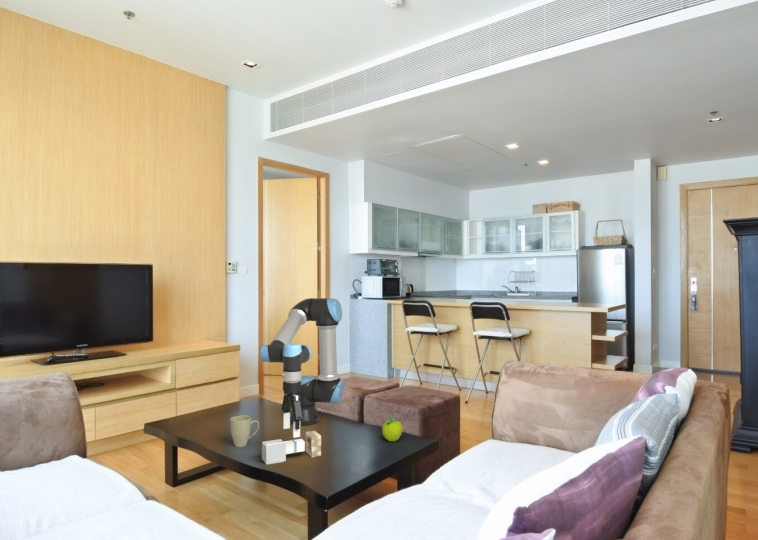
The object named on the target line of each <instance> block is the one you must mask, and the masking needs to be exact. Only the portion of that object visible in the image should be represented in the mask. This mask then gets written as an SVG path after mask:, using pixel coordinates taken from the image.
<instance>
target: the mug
mask: <svg viewBox="0 0 758 540" xmlns="http://www.w3.org/2000/svg"><path fill="white" fill-rule="evenodd" d="M229 420H230V421H229V422H230V432H231V437H232V441H233V443H234V447H237V448H243V447H245V446H247V444H248V441H249V439H251V438H252V437H253V436H255V435H256V434H257V432H258V430H259V429H260V422H259V421H258V420H256V419H253V420H252V417H251V416H250V415H245V414H244V415H236V416H235V415H234V416H232V417H230V419H229ZM254 423H257V427H256V430H255V431H254V432H253V433H252V434H251V429H252V428H251V426H252V425H253V424H254ZM250 434H251V435H250Z"/></svg>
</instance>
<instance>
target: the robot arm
mask: <svg viewBox="0 0 758 540" xmlns="http://www.w3.org/2000/svg"><path fill="white" fill-rule="evenodd" d="M287 314H288V315H287V318H286V320H285V322H284V323H283V324H282V326H281V328H280V329H279V331H278V332H277V333H276V335H275V336H274V338H273V339H272V341H271V342H270V344H264V345H263V344H262V345H261V346H260V349H259V358H260V361H261V362H265V363H282V374H281V377H282V381H283V382H282V391H283V399H282V403H281V404H282V405H281V411H282V413H283V414H282V415H283V417H282V418H283V420H282V421H283V422H282V426H283V427H282V429H283V430H287V429H291V425H292V437H293V439H294V438H295V439H296V438H300V437H301V426H310V425H314V424H317V423H319V414H318V411H317V408H316V403H325V404H327V403H328V404H339V403H340V402H341V401H342V398H343V396H344V395H343V394H344V392H345V382H344V380H343V379H341V375H340V374H339V373H338V363H337V362H338V361H337V360H338V359H337V357H338V356H337V354H338V353H337V331H336V330H337V327H338V326H339V322H342V319H343V309H342V304H341V302H340V301H339V300H338V299H337V298H330V297H329V298H328V297H324V298H323V297H321V298H320V297H318V298H317V297H315V298H314V297H313V298H312V297H310V298H305V299H303V300H301V301H299V302H298V303H297V304H295V305H294V306H292V308H291V309H290V310H289V311H288V313H287ZM306 322H315V326H316V328H318V337H319V338H318V339H319V343H318V344H319V368H320V369H319V370H320V374H319V375H318V376H317V377H316V376H315V375H304V376H302V364H305V363H307V362H308V361H309V360H311V359H312V355H313V351H312V348H311V347H310V346H309V345H307V344H303V345H302V344H300V343H297V342H295V343H292V341H293V339H294V338H295V336H296V334H298V331H299V330H300V328H301V327H302V326H303V325H305V324H306Z"/></svg>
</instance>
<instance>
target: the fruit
mask: <svg viewBox="0 0 758 540" xmlns="http://www.w3.org/2000/svg"><path fill="white" fill-rule="evenodd" d="M403 428H404V427H403V425H402V423H401V422H400V421H396V418H394V417H390V418H389V419H388V420H385V421H384V422H383V424H382V427H381V431H382V432H381V433H382V436H383V437H384V438H385V439H386V440H387V441H388V442H397V441H398V440H399V439H400V437H401V435H402V434H403V431H404V430H403Z"/></svg>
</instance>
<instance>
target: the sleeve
mask: <svg viewBox="0 0 758 540" xmlns="http://www.w3.org/2000/svg"><path fill="white" fill-rule="evenodd" d="M277 442H283V440H282V439H281V438H279V439H273V440H265V441H262V442H261V460H262V461H263V462H264V464H265V465H272V464H277V463H278V464H279V463H284V461H285V462H286V461H287V454H286V443H282V444H276V445H269V446H268V445H267V444H270V443H277Z"/></svg>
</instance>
